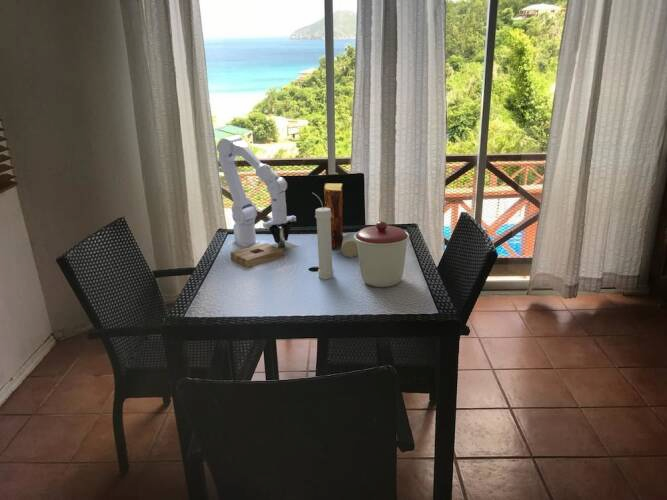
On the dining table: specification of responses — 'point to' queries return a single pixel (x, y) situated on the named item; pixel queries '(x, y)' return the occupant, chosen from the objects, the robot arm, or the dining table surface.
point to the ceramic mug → (349, 246)
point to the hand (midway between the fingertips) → (281, 241)
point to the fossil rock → (335, 212)
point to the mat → (286, 246)
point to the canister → (381, 254)
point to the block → (256, 254)
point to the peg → (281, 238)
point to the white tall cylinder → (324, 242)
